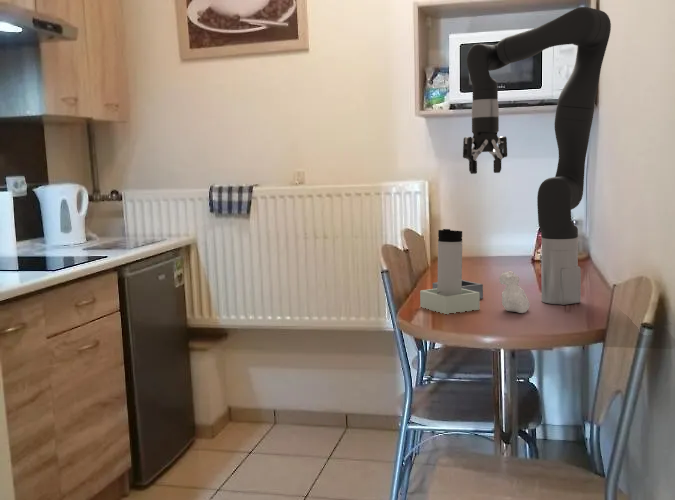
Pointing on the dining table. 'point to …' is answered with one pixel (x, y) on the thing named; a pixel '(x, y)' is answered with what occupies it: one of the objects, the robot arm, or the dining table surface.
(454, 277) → the travel mug
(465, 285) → the sleeve
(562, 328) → the dining table surface
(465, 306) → the tray
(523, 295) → the bust
